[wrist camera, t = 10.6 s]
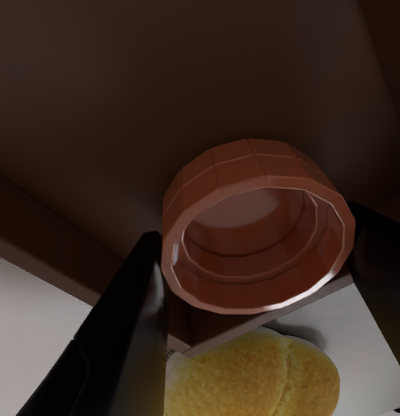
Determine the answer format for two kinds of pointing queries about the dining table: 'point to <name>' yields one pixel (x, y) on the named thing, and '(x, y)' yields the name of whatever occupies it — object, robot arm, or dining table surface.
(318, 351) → the bread roll
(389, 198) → the serving tray
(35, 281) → the dining table surface
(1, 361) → the dining table surface
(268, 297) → the side dish
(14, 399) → the dining table surface
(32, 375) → the dining table surface
